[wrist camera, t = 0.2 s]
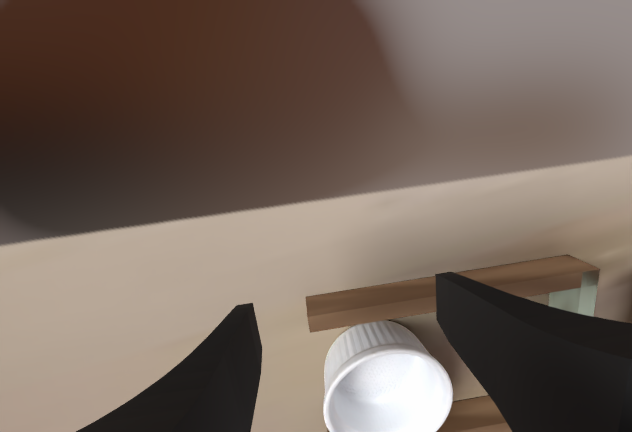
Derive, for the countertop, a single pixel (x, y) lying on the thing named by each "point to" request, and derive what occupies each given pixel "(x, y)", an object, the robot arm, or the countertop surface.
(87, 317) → the countertop surface
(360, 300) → the channel
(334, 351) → the ramekin
